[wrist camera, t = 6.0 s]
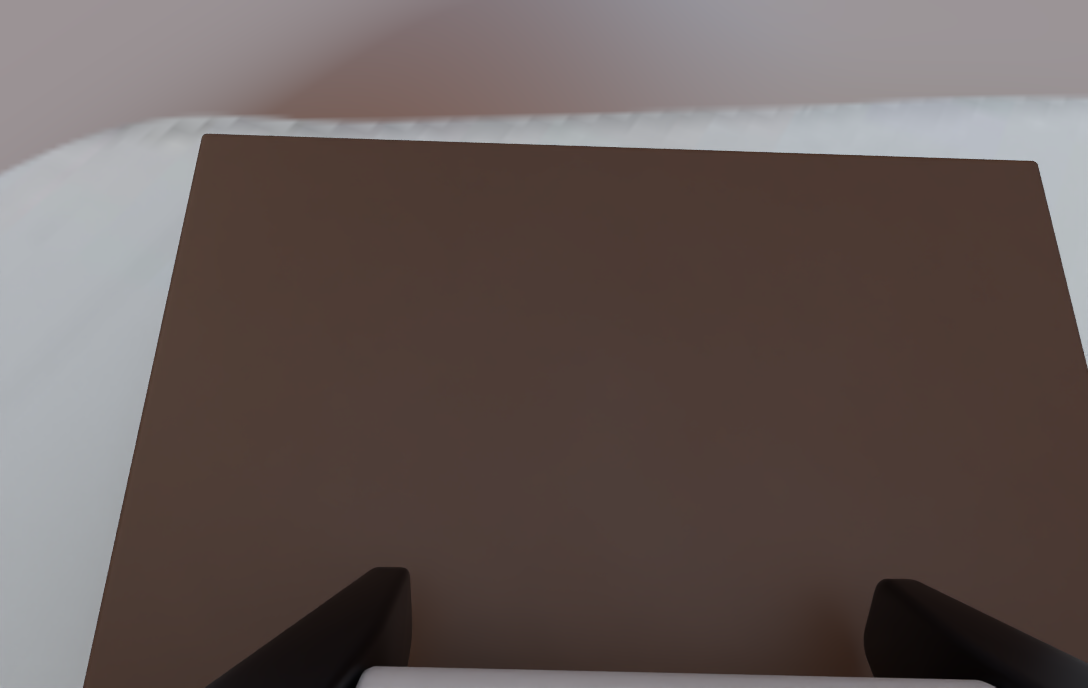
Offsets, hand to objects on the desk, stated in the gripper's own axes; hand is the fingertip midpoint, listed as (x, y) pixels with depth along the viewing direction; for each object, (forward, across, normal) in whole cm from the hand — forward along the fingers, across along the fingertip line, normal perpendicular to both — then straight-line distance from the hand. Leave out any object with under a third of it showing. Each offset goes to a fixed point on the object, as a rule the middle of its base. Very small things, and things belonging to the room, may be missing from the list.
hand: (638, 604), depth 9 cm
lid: (+3, 0, 0) cm, 3 cm away
